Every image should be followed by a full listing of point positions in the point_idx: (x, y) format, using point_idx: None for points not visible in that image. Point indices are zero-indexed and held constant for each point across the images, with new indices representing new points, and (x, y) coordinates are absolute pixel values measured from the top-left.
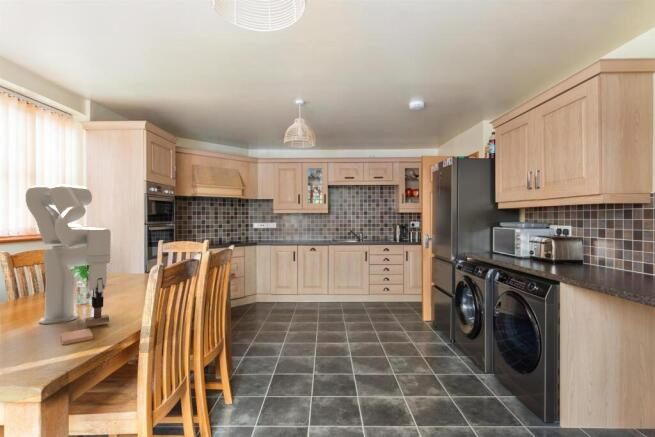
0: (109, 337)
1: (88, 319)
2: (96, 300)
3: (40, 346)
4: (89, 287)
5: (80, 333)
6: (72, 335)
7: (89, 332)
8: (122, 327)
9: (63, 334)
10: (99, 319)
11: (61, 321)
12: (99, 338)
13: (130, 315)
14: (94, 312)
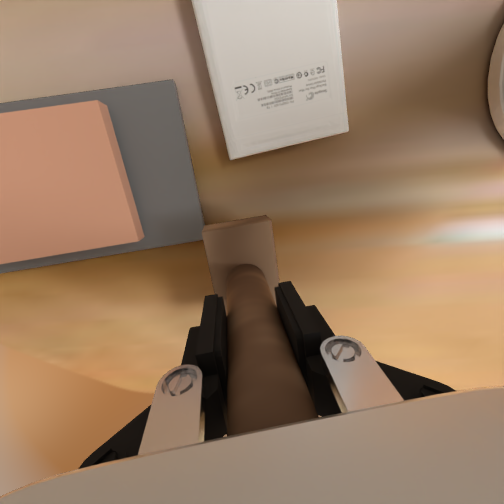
0: (73, 311)
1: (219, 239)
2: (182, 362)
3: (47, 14)
4: (167, 502)
5: (43, 206)
6: (15, 169)
7: (46, 248)
8: None
9: (63, 117)
10: (215, 290)
11: (493, 77)
12: (75, 276)
13: None
14: (234, 283)
